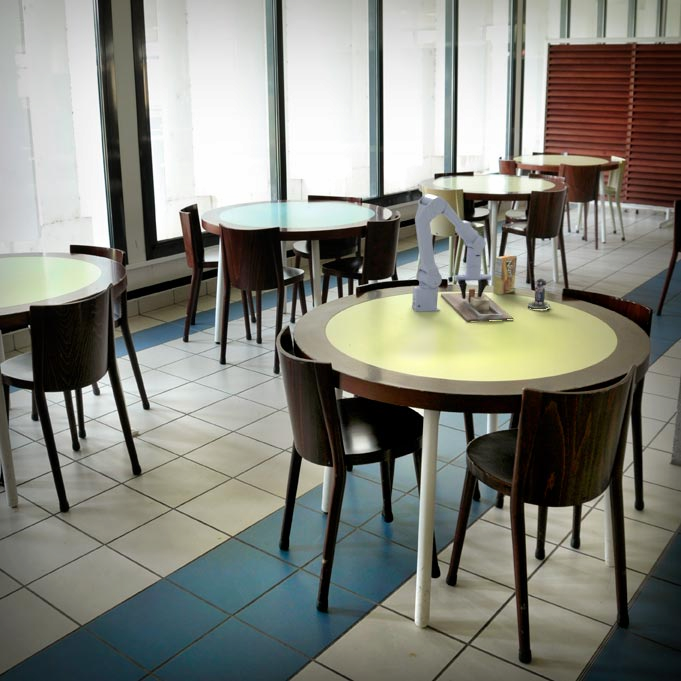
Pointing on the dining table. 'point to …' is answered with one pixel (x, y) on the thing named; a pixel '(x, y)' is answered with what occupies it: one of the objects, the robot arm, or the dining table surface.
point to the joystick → (478, 301)
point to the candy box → (504, 274)
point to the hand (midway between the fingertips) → (471, 298)
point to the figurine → (539, 296)
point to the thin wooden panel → (470, 313)
